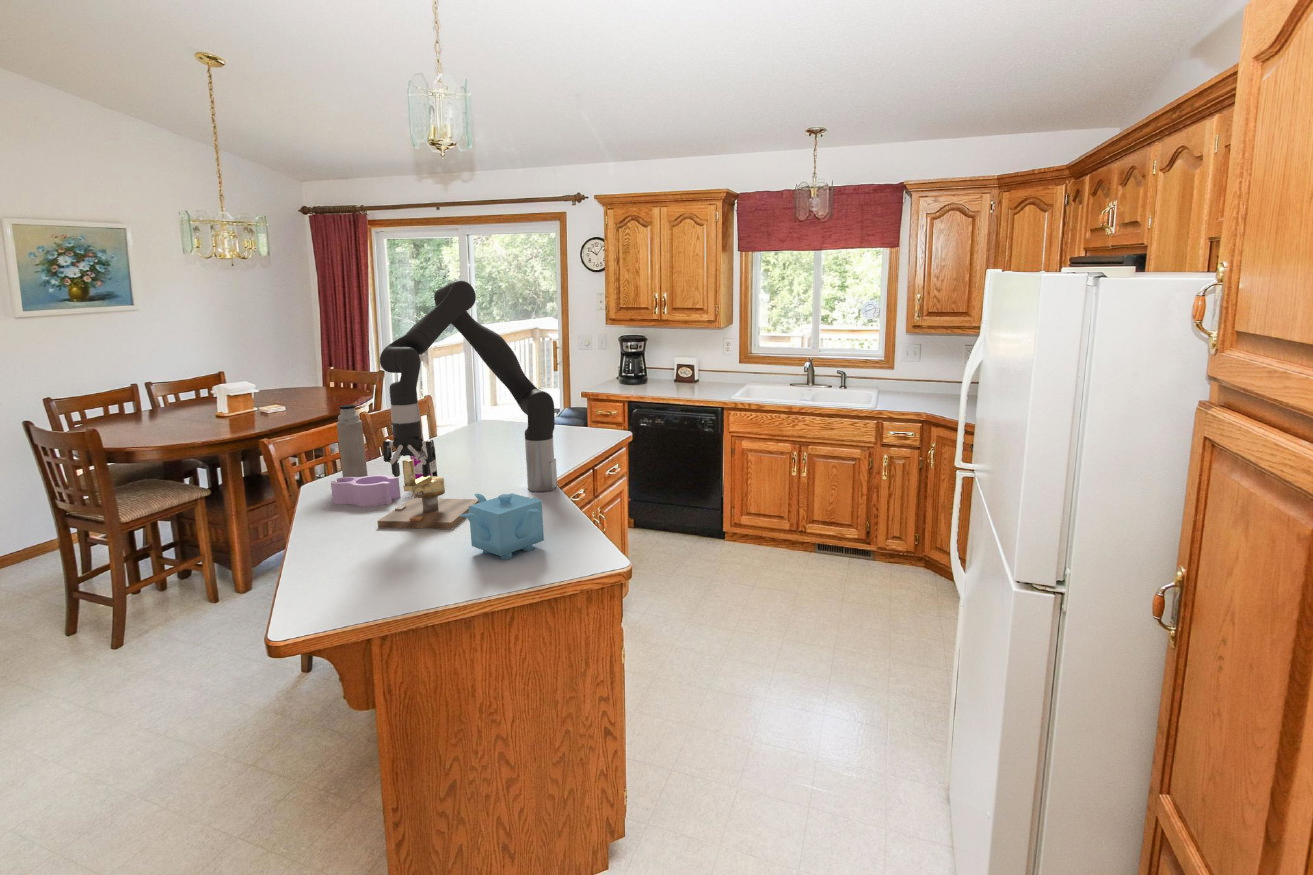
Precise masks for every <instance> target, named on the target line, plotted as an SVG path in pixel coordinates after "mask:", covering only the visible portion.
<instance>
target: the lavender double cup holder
mask: <svg viewBox="0 0 1313 875" xmlns="http://www.w3.org/2000/svg"><path fill="white" fill-rule="evenodd" d="M330 489H331V497H332V503H333V504H335V505H347V504H349V505H354V506H358V507H374V506H380V505H384V504H385V505H386V504H387V505H390V504H393V501H392V500H395V499H399V498H401V488H400V478H399V476H398V477H394V476H392V475H388V474H387V475H385V474H375V475H368V476H365V477H343V476H342V477H337V478H336V480H332V481H330Z"/></svg>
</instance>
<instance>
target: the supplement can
mask: <svg viewBox="0 0 1313 875" xmlns="http://www.w3.org/2000/svg"><path fill="white" fill-rule="evenodd" d="M434 448H435V449H436V447H435V445H434ZM422 449H423V450H424V452H425V453H426V455H427V449H426V448H425V446H424V445H423V446H422ZM435 455H436V452H435ZM436 456H437V455H436ZM427 457H428V456H427ZM409 459H412V460H414V469H415V479H418V478H420V477H422V476H423V470H422V464H423V463H422V462H421V461H420V460H419V459H417V458H416V456H409ZM437 466H438V465H437V459H436V460H434V461H432V462H430V474H429V476H436V477H439V475H438V467H437Z"/></svg>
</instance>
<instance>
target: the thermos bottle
mask: <svg viewBox="0 0 1313 875" xmlns="http://www.w3.org/2000/svg"><path fill="white" fill-rule="evenodd" d="M339 412H340V414H339V415H338V416H337V420H338V421H337V422H336V429H337V430H336V431H337V438H338V439H337V441H338V447H339V455H340V464H341V472H342V473H341V474H342V477H365V476H369V475H368V466H367V458H366V448H365V439H364V430H363V421H362V420H361V419H360V415H359V413H357V410H356V405H355V404H344V405H340V406H339Z"/></svg>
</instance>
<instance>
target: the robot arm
mask: <svg viewBox="0 0 1313 875" xmlns="http://www.w3.org/2000/svg"><path fill="white" fill-rule="evenodd" d="M433 297H434V298H433V299H434V303H435V306H436V307H434V308H433V309H432V310H430V311H429V312H428V313H426V314H425V315H424V316H423V317H421V318H420V319H419V320H418V321H416V322H415V324H413V326H412V327H411V328H410V329H409V330H408V331H407V332H406V333H405V334H404V335H403V336H401V337H399V338H397V339H396V340H394V341H393V342H391V343H389V344H388V345H387V346H386V347H385V348H383V350H382V352H381V353H380V356H379V365H380V367H381V368H382V370H384V371H385V372H387V373H390V374H400V379H399V381H395V382H392V383H390V385H389V400H390V420H391V429H392V437H393V440H391V439H389V438H388V439H386V440H384V441H383V442H382V451H383V452H382V454H383V456H382V457H383V461H384V462H385V463H390V464H391V474H392V475H393V477H399V476H401V471H400V470H401V469H400V463H399V462H398V461H399V460H400V459H401V457H407V456H409V457H410V456H416V458H417V459H419V460H420V461H421V462H422V463H423V464H422V470H423V477H427V476H429V474H430V462H432V461H434V460H436V461H437V455H435V453H436V447H435V448H434V446H435V443H434V440H433V439H428V440H423V437H422V435H423V433H422V422H421V413H420V408H419V401H418V390H417V386H418V382H419V375H420V370H421V366H422V365H421V363H422V361H421V357H420V355H423V354H425V353H426V352H427V351H428V349H430V348H431V346H432V345H433V344H434V342H436V341H437V339H438V338H439V337H440V336H441V335H442V334H443V333H444V331H445V330H446V329H447V328H448V327H449V326H450V325H452V326H453V327H454V328H455V329H456V330H457V331H458V332H459V333H460V334H461V336H463V338H464V339H465V340H466V341H467V342H468V343H469V345H470V346H471V347H472V349H474V351H475V352H476V353H477V354H478V356H479V357H480V358H481V360H482V361H483V362H484V363H485V365H486V366H487V367H488V369H490V371H491V372H492V373H493V375H495V376H496V378H497V379H499V381H500V382H501V383H502V384H503V385H504V386H505V387H506V388H507V389H508V391H509V392H510V394H511V396H512V397H513V399H514V400H515V402H516V403H517V405H518V406H519V409H521V411H522V412H523V413H524V414H525V415H526V416H527V428H526V429H525V430H524V445H525V461H526V463H525V464H526V476H527V477H526V478H527V489H528V491H531V492H549V491H554V490H555V489H556V488H557V486H558V474H557V472H558V470H557V459H556V458H555V452H554V449H555V448H554V447H555V446H554V431H555V413H556V412H555V402H554V398H553V397H552V396H551V394H550V393H548V392H547V391H544V390H541V389H538V388H537V386H535V385H534V383H532V382H531V380H530V379H529V378H528V377H527V375H526V374H525V373H524V371H523V369H522V367H521V364H520V362H519V359H518V358H517V356H516V353H515V352H514V351H513V349H512V348H511V347H510V346H509V344H508V343H507V342H506V340H505V339H504V338H503V337H502V336H501V335H500V334H499V333H496V331H494V330H492V329H489V328H488V327H486V326H485V325H483V324H481V323H480V322H478V321H476V320H475V319H474V318H473V317H472V316H471V315H470V313H469V312H468V311H469V310H470V309H471V308H472V307H474V305H475V303H476V301H477V300H476V299H477V295H476V290H475V289H474V287H473V286H472V285H471V283H469V282H468V281H466V280H459V279H458V280H454V281H452V282H450V283H448V284H446V285H444V286H442V287H440V288H438V289H437V290H436V291H435V293H434V296H433ZM423 445H424V446H425V448H426V449H427V455H426V453H425V452H424V450H423V449H422V446H423ZM393 447H394V448H395V452H394V453H392V448H393ZM392 454H393V455H392ZM427 456H428V457H427Z"/></svg>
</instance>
